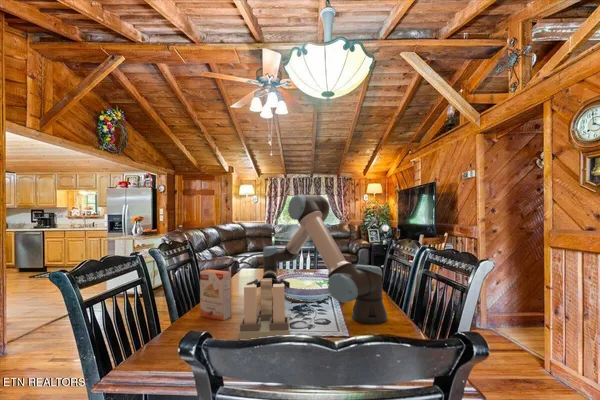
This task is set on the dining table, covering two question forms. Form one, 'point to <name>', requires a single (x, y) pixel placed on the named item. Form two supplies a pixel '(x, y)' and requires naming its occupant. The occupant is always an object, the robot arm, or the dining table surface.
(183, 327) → the dining table surface
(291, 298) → the trivet
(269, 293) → the loose stool leg
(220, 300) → the cracker box
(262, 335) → the stool seat
